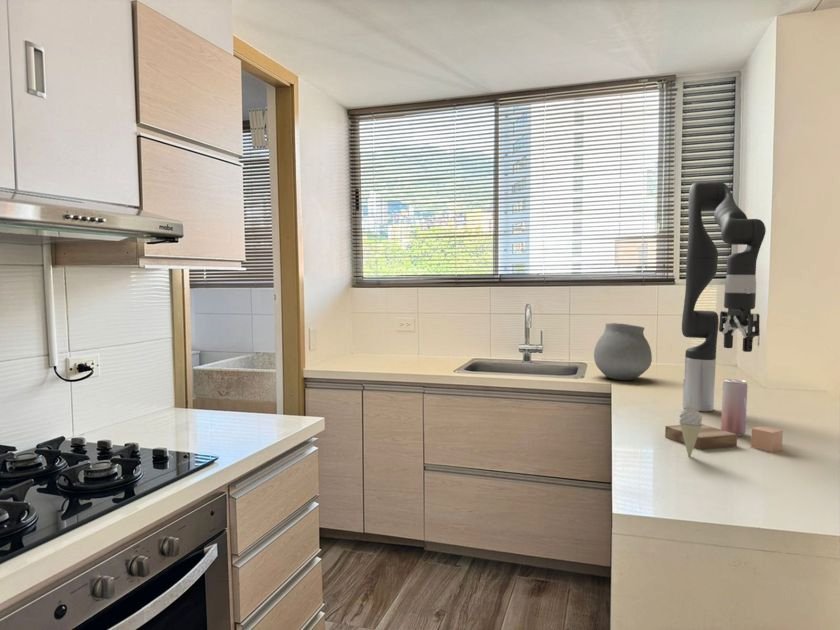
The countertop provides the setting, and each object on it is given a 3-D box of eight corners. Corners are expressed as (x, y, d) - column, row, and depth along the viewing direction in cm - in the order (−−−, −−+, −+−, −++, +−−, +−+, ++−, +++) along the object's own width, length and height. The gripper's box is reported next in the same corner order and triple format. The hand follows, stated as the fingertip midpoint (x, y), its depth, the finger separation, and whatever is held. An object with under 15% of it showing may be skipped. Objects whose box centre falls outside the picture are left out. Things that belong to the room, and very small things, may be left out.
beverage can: (723, 429, 160) (725, 378, 160) (747, 433, 157) (749, 380, 156) (718, 433, 156) (721, 380, 155) (743, 437, 152) (745, 383, 151)
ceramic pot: (657, 384, 235) (659, 326, 234) (597, 382, 239) (599, 324, 238) (643, 376, 259) (645, 322, 258) (589, 373, 263) (591, 321, 262)
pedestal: (665, 436, 151) (665, 426, 151) (700, 434, 155) (700, 423, 155) (699, 449, 140) (700, 437, 140) (736, 446, 144) (737, 434, 143)
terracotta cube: (751, 447, 143) (751, 428, 143) (760, 444, 146) (761, 425, 145) (771, 452, 139) (772, 432, 138) (781, 449, 141) (782, 430, 141)
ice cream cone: (674, 456, 134) (677, 394, 133) (682, 451, 138) (685, 391, 137) (696, 460, 130) (699, 397, 130) (704, 456, 134) (706, 394, 133)
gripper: (712, 291, 161) (709, 346, 162) (743, 291, 147) (740, 352, 148) (737, 291, 161) (734, 347, 162) (770, 292, 147) (767, 353, 148)
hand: (737, 349), depth 155 cm, fingers open, 8 cm apart
